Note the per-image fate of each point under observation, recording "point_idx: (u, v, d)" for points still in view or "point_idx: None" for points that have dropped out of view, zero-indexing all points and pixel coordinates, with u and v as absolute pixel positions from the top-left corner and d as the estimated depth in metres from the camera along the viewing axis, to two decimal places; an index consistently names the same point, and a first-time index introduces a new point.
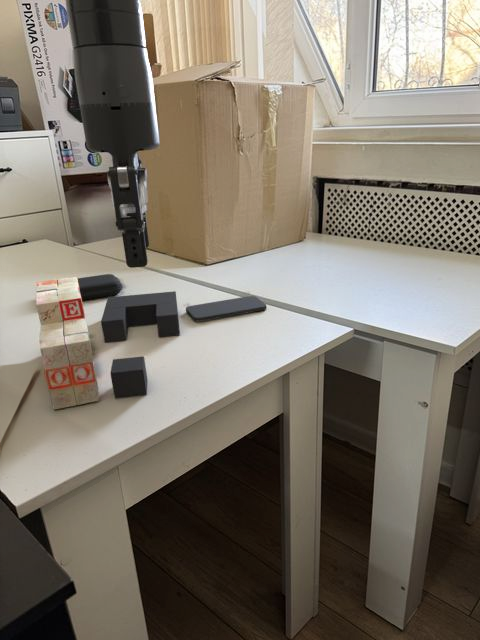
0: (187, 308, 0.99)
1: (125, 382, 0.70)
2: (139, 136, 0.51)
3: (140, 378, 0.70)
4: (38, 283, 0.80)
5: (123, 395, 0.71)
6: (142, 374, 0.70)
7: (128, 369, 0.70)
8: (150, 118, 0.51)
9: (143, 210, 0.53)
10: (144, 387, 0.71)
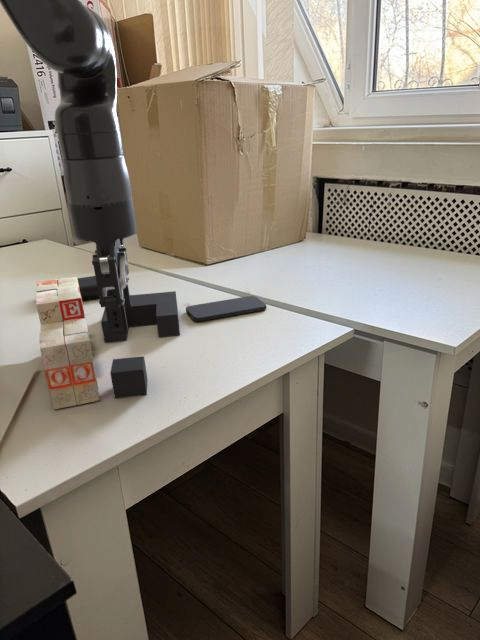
0: (187, 308, 0.99)
1: (125, 382, 0.70)
2: (118, 228, 0.60)
3: (140, 378, 0.70)
4: (38, 283, 0.80)
5: (123, 395, 0.71)
6: (142, 374, 0.70)
7: (128, 369, 0.70)
8: (128, 212, 0.61)
9: (123, 287, 0.63)
10: (144, 387, 0.71)
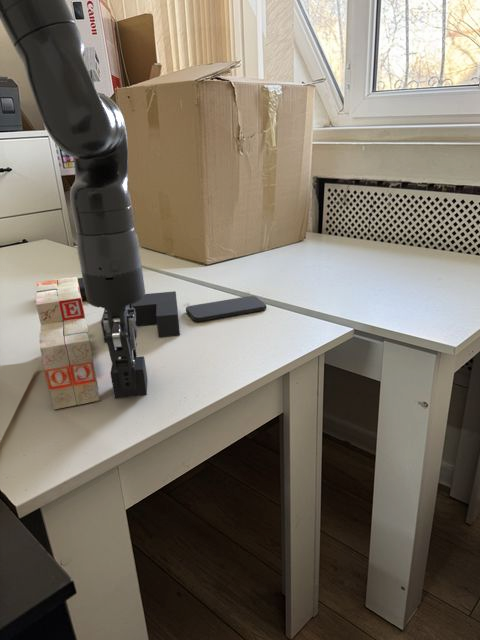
0: (187, 308, 0.99)
1: None
2: (128, 296, 0.64)
3: (140, 378, 0.70)
4: (38, 283, 0.80)
5: (123, 395, 0.71)
6: (142, 374, 0.70)
7: None
8: (137, 280, 0.65)
9: (133, 349, 0.68)
10: (144, 387, 0.71)
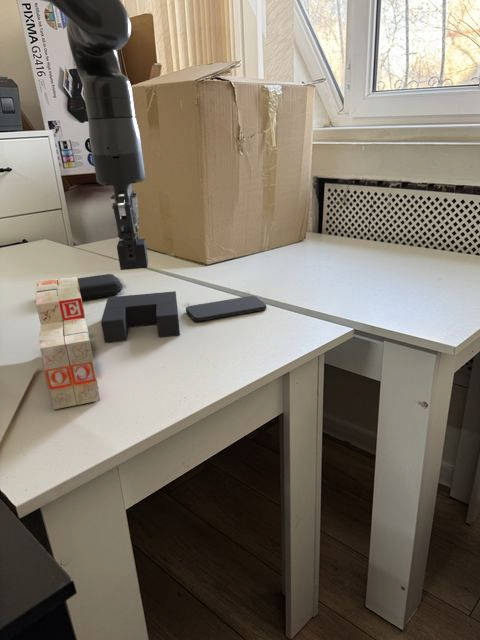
0: (187, 308, 0.99)
1: None
2: (131, 174, 0.77)
3: (142, 252, 0.83)
4: (38, 283, 0.80)
5: (127, 267, 0.84)
6: (143, 248, 0.83)
7: None
8: (138, 162, 0.78)
9: (135, 224, 0.81)
10: (145, 261, 0.84)
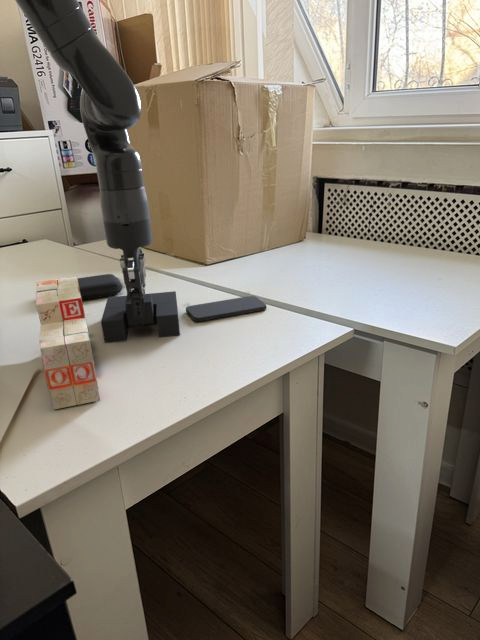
0: (187, 308, 0.99)
1: None
2: (140, 239, 0.82)
3: (149, 309, 0.88)
4: (38, 283, 0.80)
5: (135, 323, 0.89)
6: (150, 305, 0.88)
7: None
8: (147, 227, 0.83)
9: (143, 284, 0.86)
10: (152, 317, 0.89)
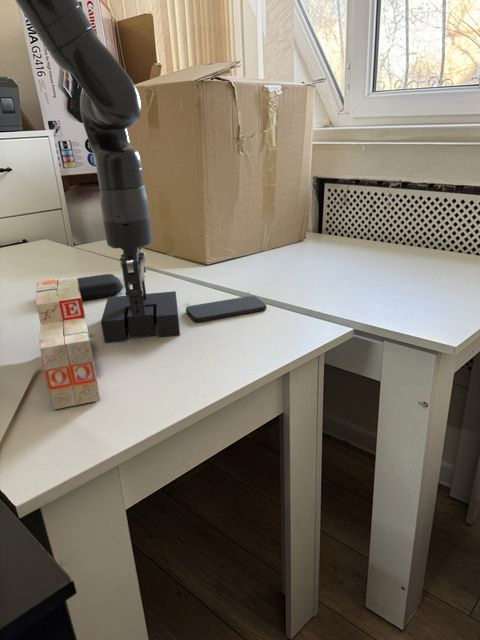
0: (187, 308, 0.99)
1: (138, 325, 0.89)
2: (140, 239, 0.82)
3: (150, 321, 0.89)
4: (38, 283, 0.80)
5: (137, 335, 0.90)
6: (152, 318, 0.89)
7: None
8: (147, 227, 0.83)
9: (142, 282, 0.85)
10: (153, 329, 0.90)
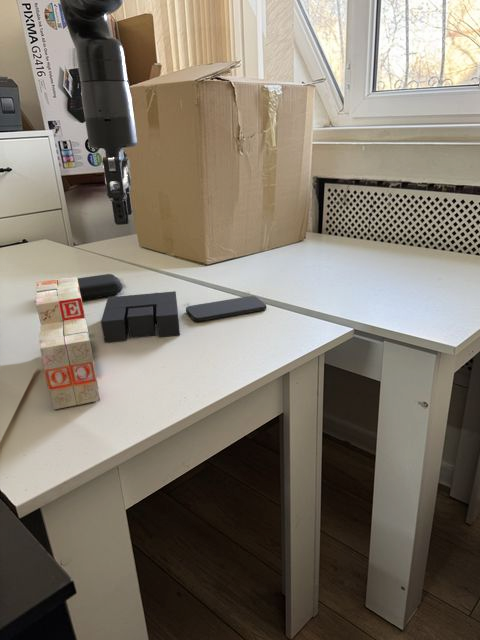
0: (187, 308, 0.99)
1: (138, 325, 0.89)
2: (123, 138, 0.78)
3: (150, 321, 0.89)
4: (38, 283, 0.80)
5: (137, 335, 0.90)
6: (152, 318, 0.89)
7: (141, 314, 0.89)
8: (130, 126, 0.79)
9: (125, 186, 0.81)
10: (153, 329, 0.90)
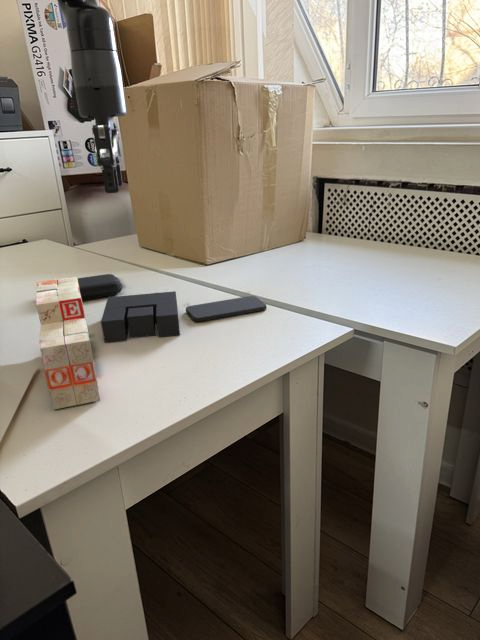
0: (187, 308, 0.99)
1: (138, 325, 0.89)
2: (112, 107, 0.80)
3: (150, 321, 0.89)
4: (38, 283, 0.80)
5: (137, 335, 0.90)
6: (152, 318, 0.89)
7: (141, 314, 0.89)
8: (119, 95, 0.81)
9: (115, 155, 0.83)
10: (153, 329, 0.90)
